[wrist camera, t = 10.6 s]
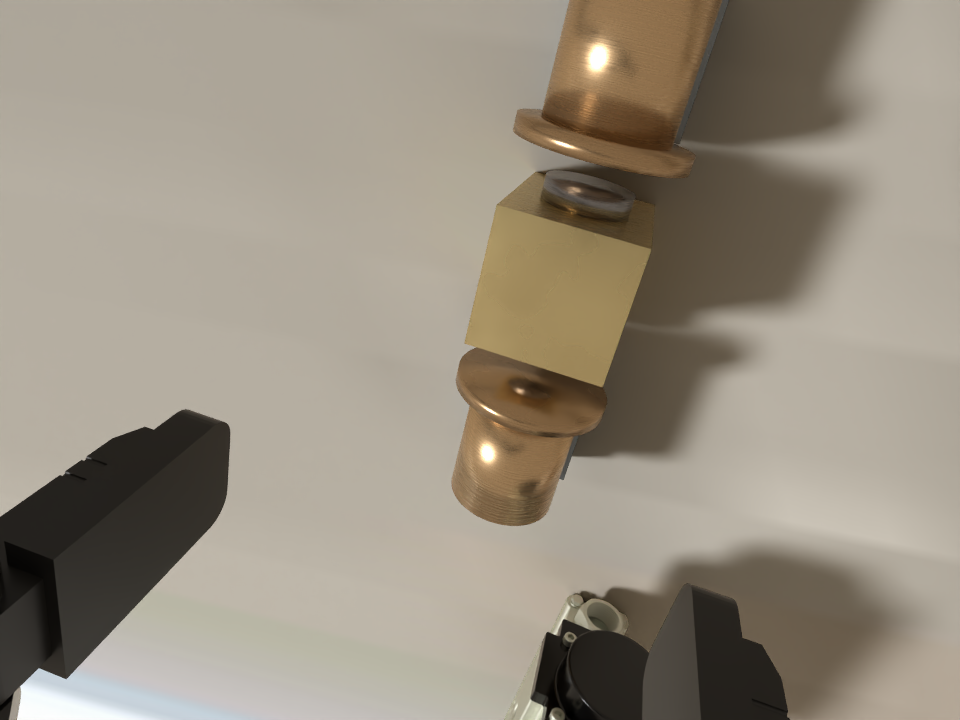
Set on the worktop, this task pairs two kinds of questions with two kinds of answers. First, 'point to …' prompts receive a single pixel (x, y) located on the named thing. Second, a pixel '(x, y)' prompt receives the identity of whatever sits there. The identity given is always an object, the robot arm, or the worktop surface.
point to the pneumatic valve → (584, 668)
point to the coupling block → (562, 273)
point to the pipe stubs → (603, 141)
